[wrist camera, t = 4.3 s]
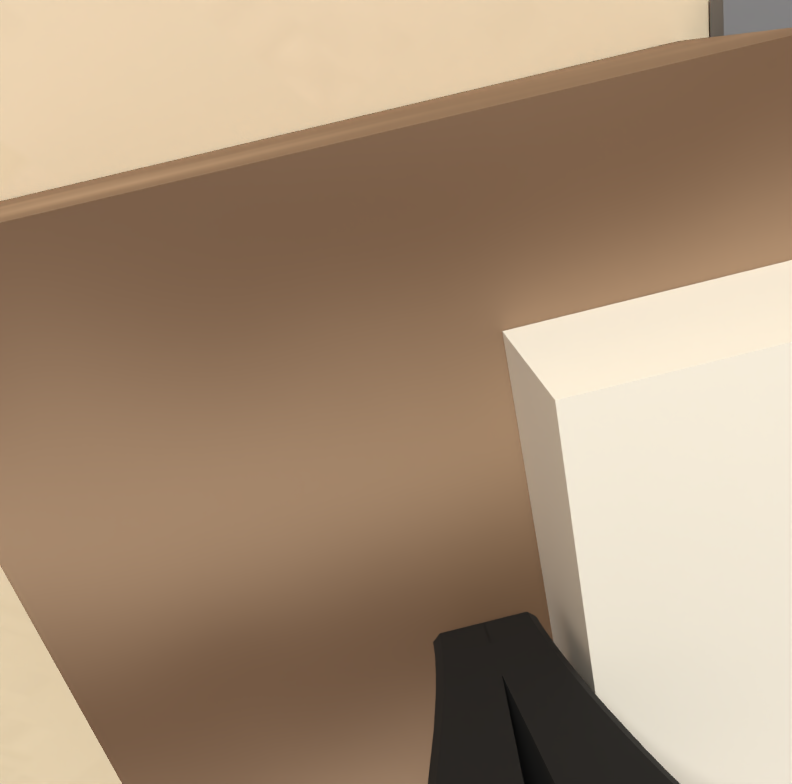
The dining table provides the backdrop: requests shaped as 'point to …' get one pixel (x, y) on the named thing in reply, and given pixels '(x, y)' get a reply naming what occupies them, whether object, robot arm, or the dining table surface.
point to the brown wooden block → (338, 392)
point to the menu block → (671, 514)
